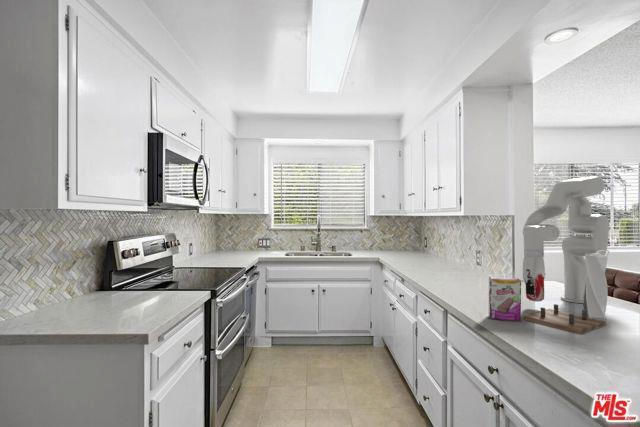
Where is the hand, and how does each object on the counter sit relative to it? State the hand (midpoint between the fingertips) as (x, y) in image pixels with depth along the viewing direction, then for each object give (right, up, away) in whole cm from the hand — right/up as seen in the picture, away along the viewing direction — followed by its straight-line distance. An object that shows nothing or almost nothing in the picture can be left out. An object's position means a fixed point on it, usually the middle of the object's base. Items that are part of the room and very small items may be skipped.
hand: (535, 292), depth 152 cm
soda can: (0, -3, 0) cm, 3 cm away
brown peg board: (-1, -7, -19) cm, 20 cm away
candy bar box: (-22, -7, -15) cm, 27 cm away
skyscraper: (+18, -8, -12) cm, 23 cm away
